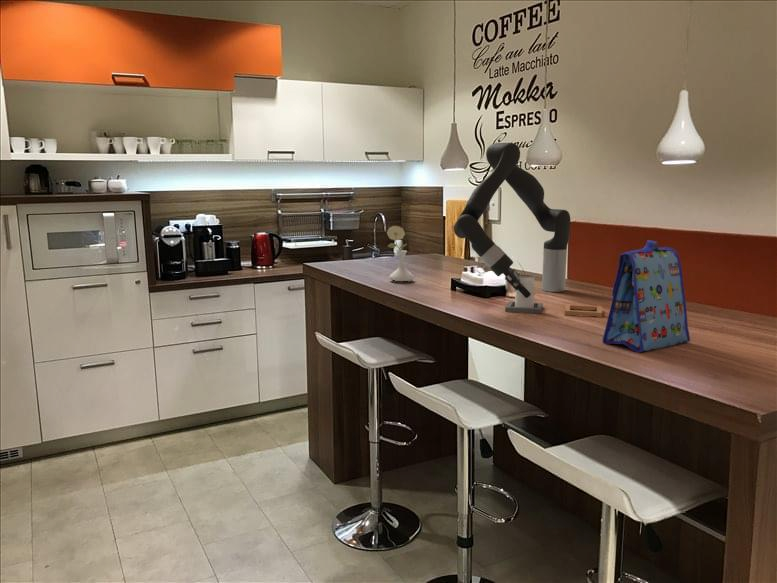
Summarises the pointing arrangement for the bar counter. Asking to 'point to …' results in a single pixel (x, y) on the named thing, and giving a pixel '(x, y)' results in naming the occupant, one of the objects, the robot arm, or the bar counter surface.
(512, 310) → the grey socket
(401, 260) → the flower in vase
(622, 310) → the lunch bag
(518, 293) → the can
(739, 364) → the bar counter surface
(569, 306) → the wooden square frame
